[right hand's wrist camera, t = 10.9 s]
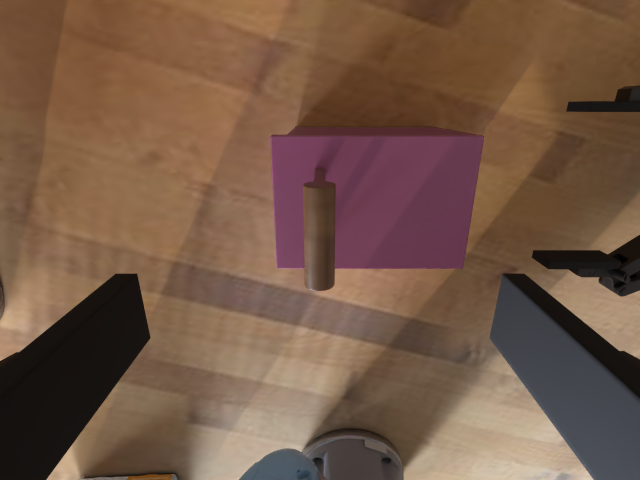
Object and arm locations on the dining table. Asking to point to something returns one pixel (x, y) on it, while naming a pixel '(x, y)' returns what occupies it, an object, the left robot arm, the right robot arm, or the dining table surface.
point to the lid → (372, 202)
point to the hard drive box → (137, 477)
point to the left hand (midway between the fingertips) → (557, 189)
